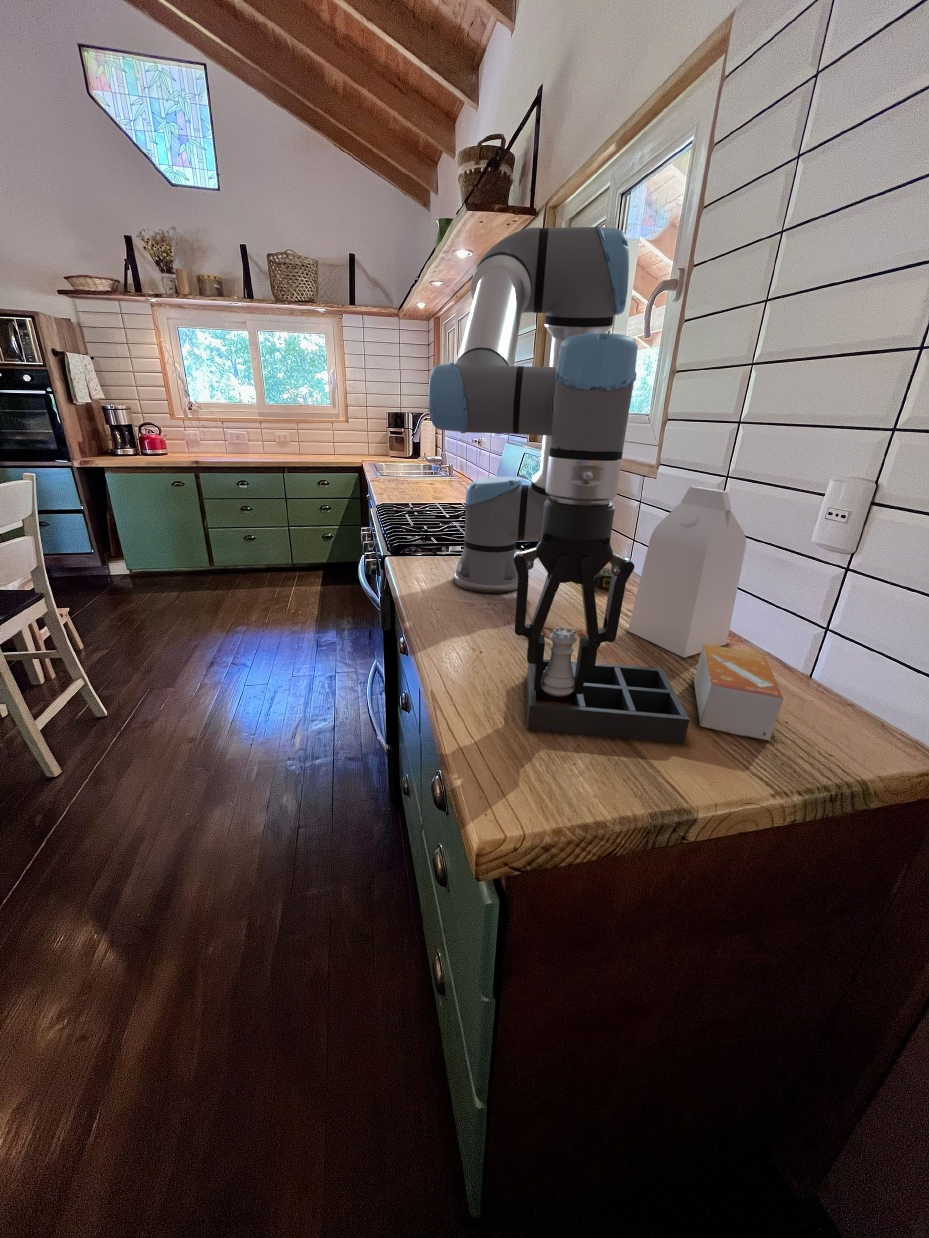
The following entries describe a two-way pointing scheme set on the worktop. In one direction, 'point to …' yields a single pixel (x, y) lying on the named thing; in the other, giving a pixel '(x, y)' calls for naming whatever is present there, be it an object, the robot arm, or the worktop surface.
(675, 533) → the milk
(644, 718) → the grid tray
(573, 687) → the rook chess piece
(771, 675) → the small box
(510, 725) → the worktop surface
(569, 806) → the worktop surface
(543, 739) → the worktop surface
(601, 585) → the tape measure
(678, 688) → the worktop surface
